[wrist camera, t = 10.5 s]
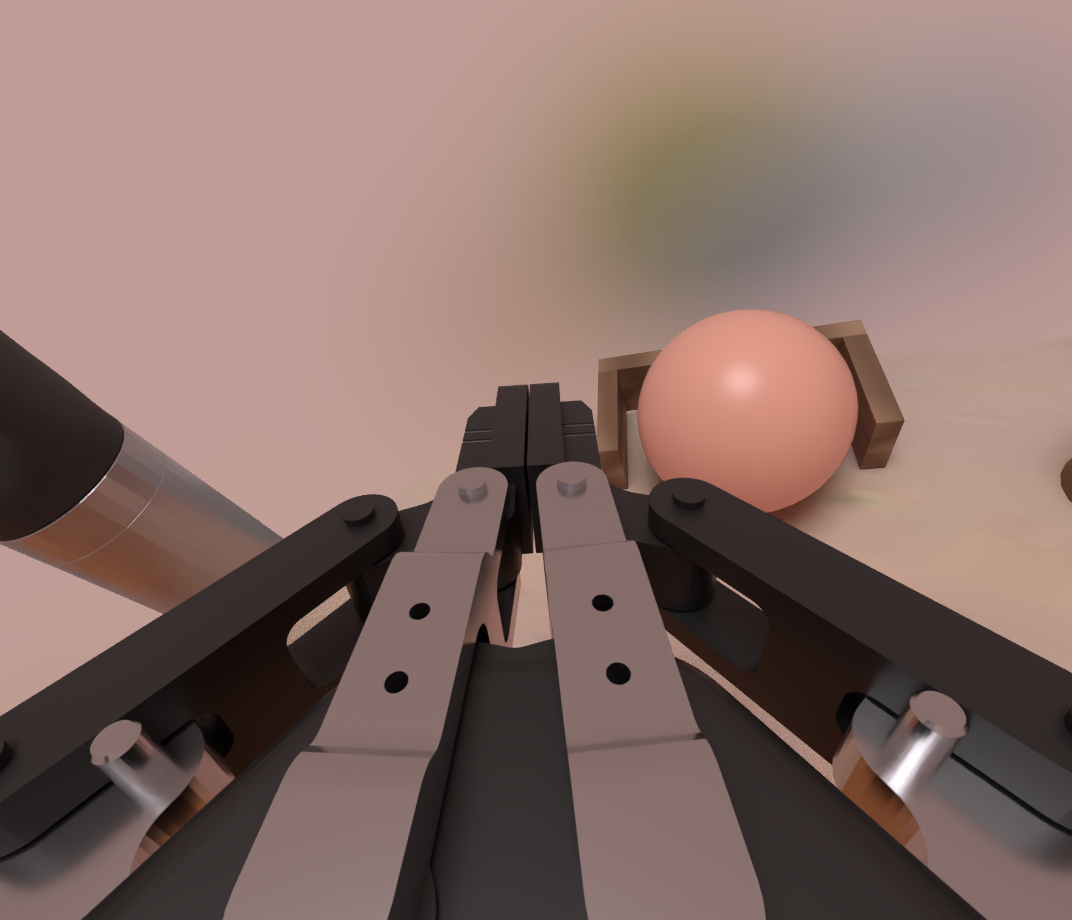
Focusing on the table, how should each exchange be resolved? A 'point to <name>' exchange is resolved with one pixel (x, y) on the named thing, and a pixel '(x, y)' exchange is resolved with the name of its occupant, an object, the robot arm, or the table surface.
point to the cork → (1067, 479)
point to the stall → (874, 394)
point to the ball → (749, 407)
